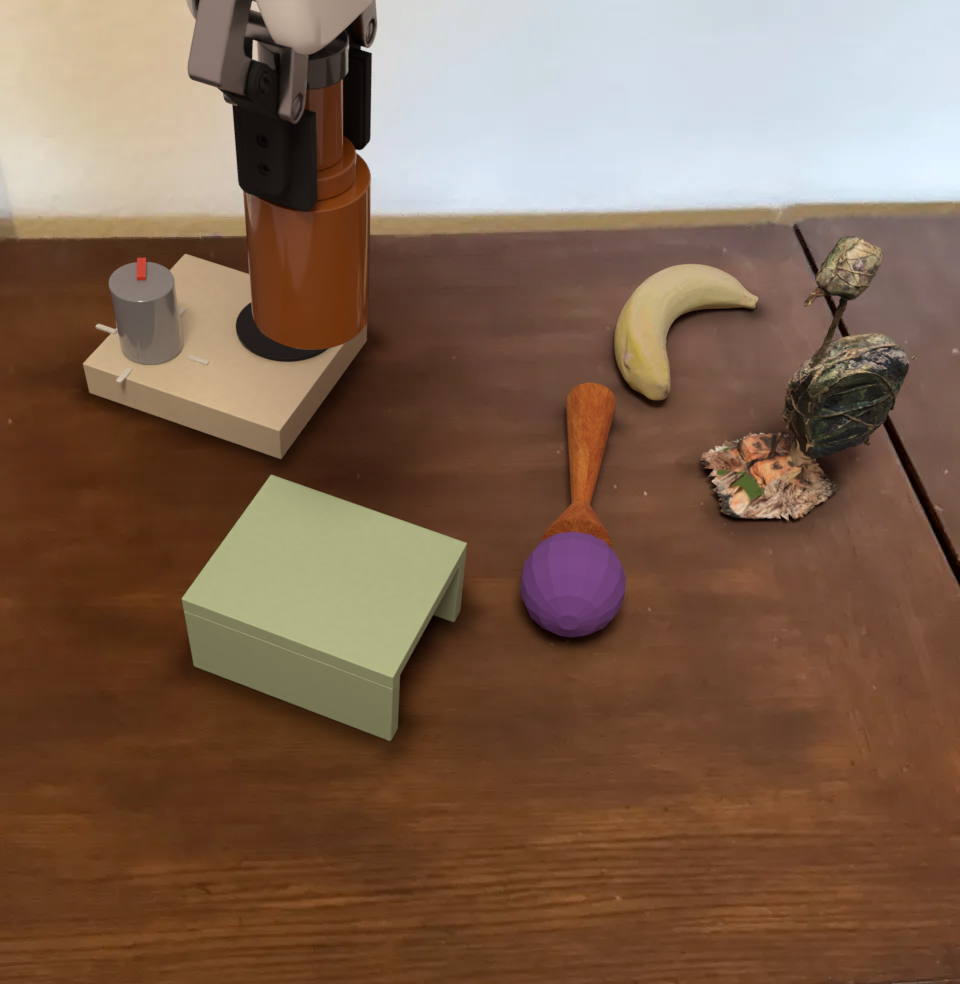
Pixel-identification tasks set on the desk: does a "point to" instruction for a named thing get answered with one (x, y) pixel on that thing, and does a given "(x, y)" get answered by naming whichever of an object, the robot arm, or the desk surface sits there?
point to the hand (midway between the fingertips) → (306, 163)
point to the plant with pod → (816, 405)
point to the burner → (267, 341)
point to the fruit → (668, 320)
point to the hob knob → (146, 312)
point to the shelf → (322, 603)
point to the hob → (220, 369)
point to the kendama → (577, 534)
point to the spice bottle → (315, 227)
